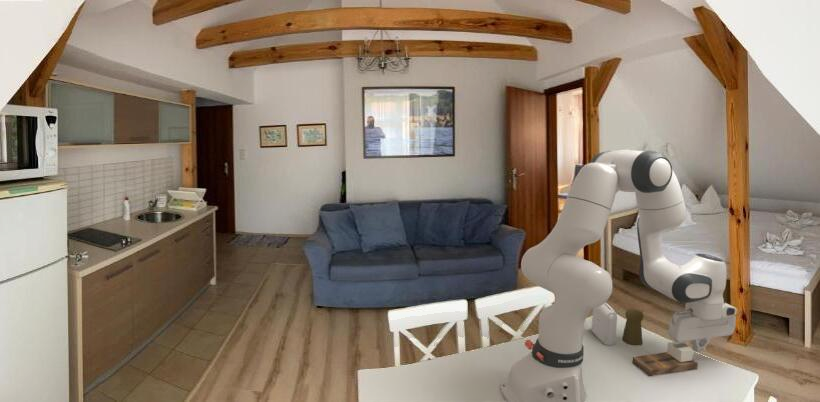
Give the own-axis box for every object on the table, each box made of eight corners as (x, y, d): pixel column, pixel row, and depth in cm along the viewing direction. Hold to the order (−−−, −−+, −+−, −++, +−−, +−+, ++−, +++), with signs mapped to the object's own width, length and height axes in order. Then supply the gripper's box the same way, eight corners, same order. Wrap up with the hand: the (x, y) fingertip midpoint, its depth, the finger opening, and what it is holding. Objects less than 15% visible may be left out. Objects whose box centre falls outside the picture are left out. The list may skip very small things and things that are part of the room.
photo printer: (589, 330, 142) (591, 297, 140) (601, 330, 142) (604, 297, 140) (604, 346, 132) (606, 311, 130) (617, 345, 132) (619, 310, 130)
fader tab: (680, 362, 118) (681, 350, 118) (666, 352, 123) (668, 341, 123) (692, 360, 119) (693, 348, 118) (678, 351, 124) (679, 340, 123)
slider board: (649, 376, 116) (650, 369, 115) (632, 362, 123) (632, 356, 122) (697, 369, 119) (698, 362, 118) (677, 356, 126) (678, 350, 125)
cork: (645, 346, 131) (648, 315, 129) (625, 345, 133) (627, 313, 131) (638, 337, 137) (641, 307, 135) (619, 335, 138) (621, 305, 136)
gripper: (682, 316, 115) (677, 360, 117) (742, 308, 118) (736, 351, 121) (664, 306, 121) (660, 348, 123) (722, 299, 125) (717, 341, 127)
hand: (698, 350), depth 122 cm, fingers closed
